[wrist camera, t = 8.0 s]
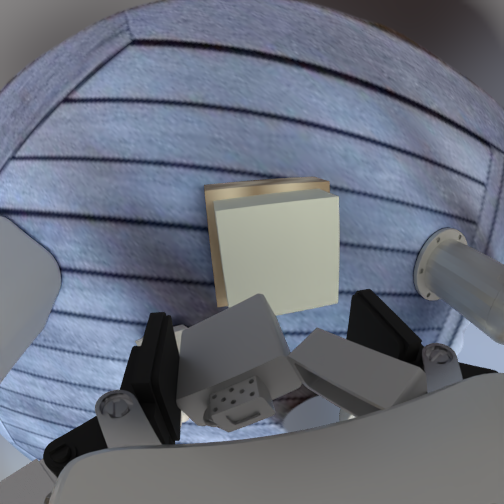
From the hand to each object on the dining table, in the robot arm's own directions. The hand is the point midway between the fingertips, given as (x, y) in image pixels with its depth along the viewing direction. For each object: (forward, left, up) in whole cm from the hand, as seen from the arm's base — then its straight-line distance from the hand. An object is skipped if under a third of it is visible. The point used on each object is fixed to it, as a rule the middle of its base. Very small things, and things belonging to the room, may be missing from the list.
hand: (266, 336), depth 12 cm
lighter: (0, 0, -2) cm, 2 cm away
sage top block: (-5, +4, -20) cm, 21 cm away
